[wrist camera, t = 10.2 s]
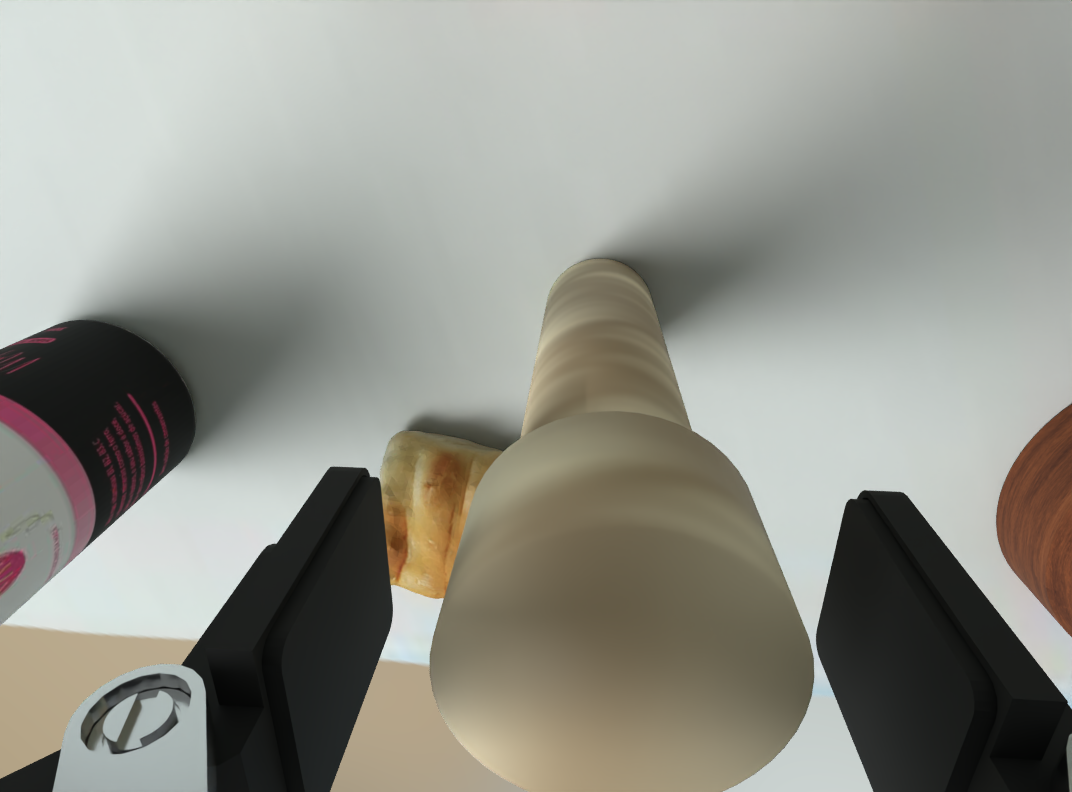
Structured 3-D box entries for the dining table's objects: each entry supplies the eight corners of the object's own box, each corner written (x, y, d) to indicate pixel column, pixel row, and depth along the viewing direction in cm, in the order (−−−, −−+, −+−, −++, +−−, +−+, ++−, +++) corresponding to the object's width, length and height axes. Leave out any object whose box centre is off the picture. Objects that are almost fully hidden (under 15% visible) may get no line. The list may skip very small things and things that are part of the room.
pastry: (634, 458, 26) (641, 517, 22) (597, 595, 29) (598, 666, 25) (389, 413, 26) (357, 464, 22) (377, 555, 29) (347, 620, 25)
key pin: (677, 241, 22) (850, 536, 7) (664, 378, 24) (781, 823, 9) (528, 238, 22) (417, 516, 8) (528, 374, 24) (439, 798, 10)
